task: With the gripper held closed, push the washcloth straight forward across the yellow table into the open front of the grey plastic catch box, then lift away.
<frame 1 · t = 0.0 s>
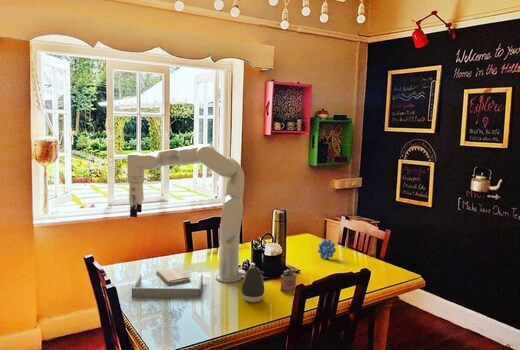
hand: (135, 214, 209), 31 cm above the table, fingers open, 9 cm apart
blue knobbly wheel: (327, 259, 250), on the table
catch box: (168, 289, 199), on the table
washcloth: (173, 278, 214), on the table
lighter: (288, 290, 204), on the table
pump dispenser: (252, 300, 192), on the table
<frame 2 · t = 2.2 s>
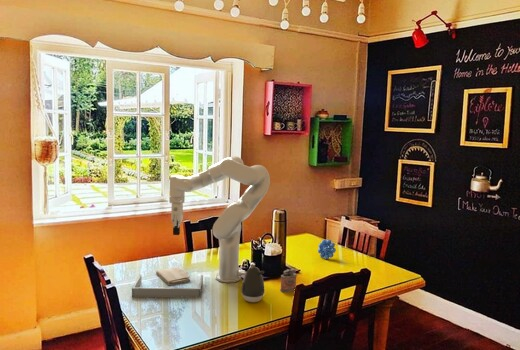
hand: (176, 234, 223), 18 cm above the table, fingers closed
nothing on the table moved.
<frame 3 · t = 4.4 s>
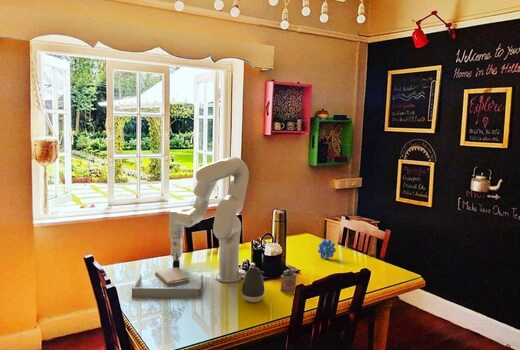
hand: (176, 267, 225), 1 cm above the table, fingers closed
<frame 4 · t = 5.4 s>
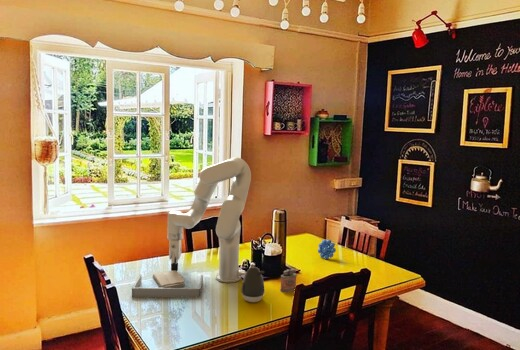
hand: (174, 270, 220), 1 cm above the table, fingers closed
washcloth: (168, 282, 209), on the table
everything else where it was.
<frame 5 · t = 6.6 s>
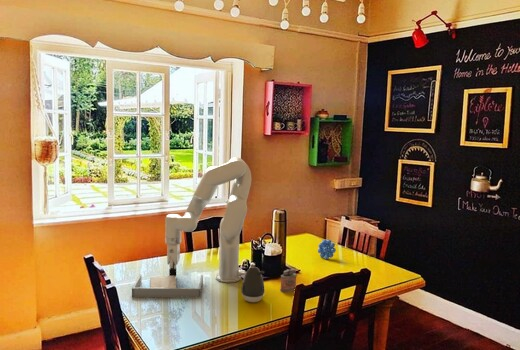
hand: (172, 276, 213), 1 cm above the table, fingers closed
washcloth: (162, 288, 203), on the table, touching gripper
everything else where it was.
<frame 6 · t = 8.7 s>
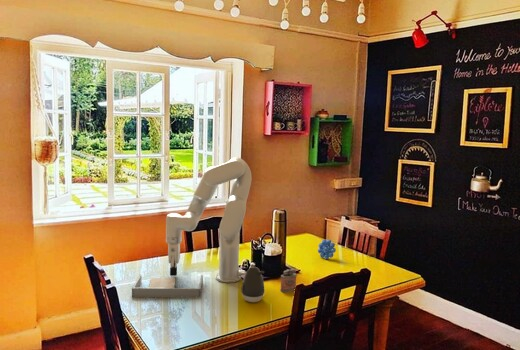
hand: (173, 275, 215), 1 cm above the table, fingers closed
washcloth: (161, 289, 201), on the table
everything else where it was.
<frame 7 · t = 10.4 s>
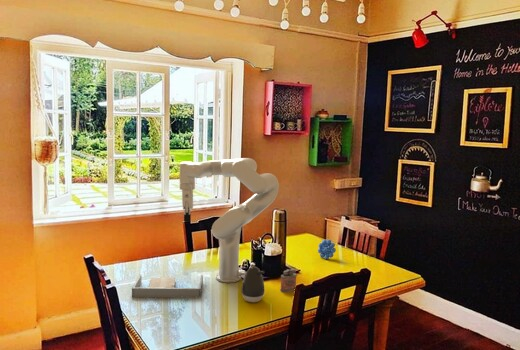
hand: (187, 221, 222), 25 cm above the table, fingers closed
nothing on the table moved.
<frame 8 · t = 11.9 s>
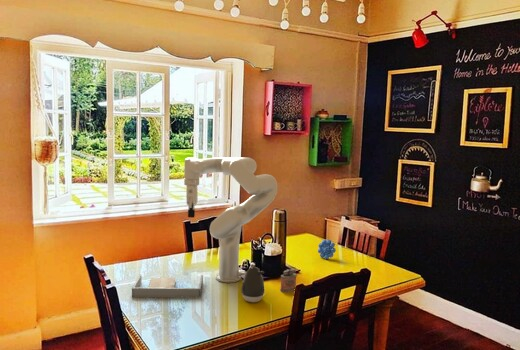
hand: (191, 217, 225), 27 cm above the table, fingers closed
nothing on the table moved.
at the end: washcloth inside the target area on the catch box (4.6 cm from its centre), point -0.8 cm above the catch box's base; washcloth moved 13.5 cm from its start; washcloth tilted 0° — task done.
